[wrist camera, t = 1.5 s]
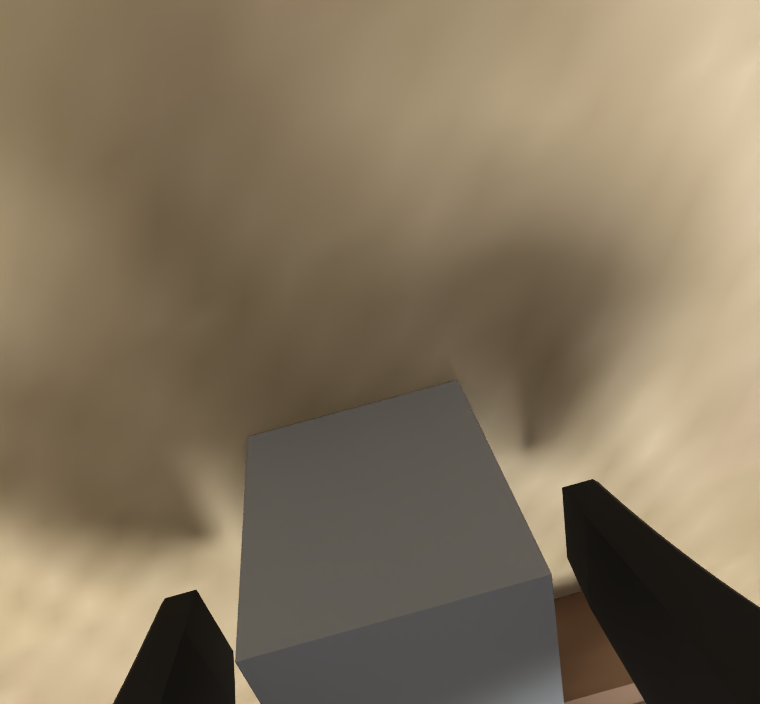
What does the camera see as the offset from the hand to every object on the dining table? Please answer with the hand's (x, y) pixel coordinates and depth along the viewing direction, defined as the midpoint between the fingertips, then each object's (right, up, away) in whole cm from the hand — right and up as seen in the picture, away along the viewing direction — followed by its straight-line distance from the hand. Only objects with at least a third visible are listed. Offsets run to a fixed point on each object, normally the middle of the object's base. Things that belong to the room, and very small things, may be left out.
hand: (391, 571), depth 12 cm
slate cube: (0, +1, +2) cm, 2 cm away
